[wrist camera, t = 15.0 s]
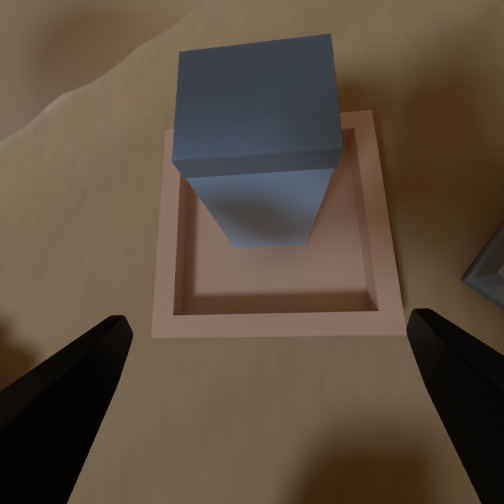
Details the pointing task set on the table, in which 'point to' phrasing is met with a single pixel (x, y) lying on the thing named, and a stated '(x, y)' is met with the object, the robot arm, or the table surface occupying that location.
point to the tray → (282, 260)
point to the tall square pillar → (259, 135)
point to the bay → (489, 270)
